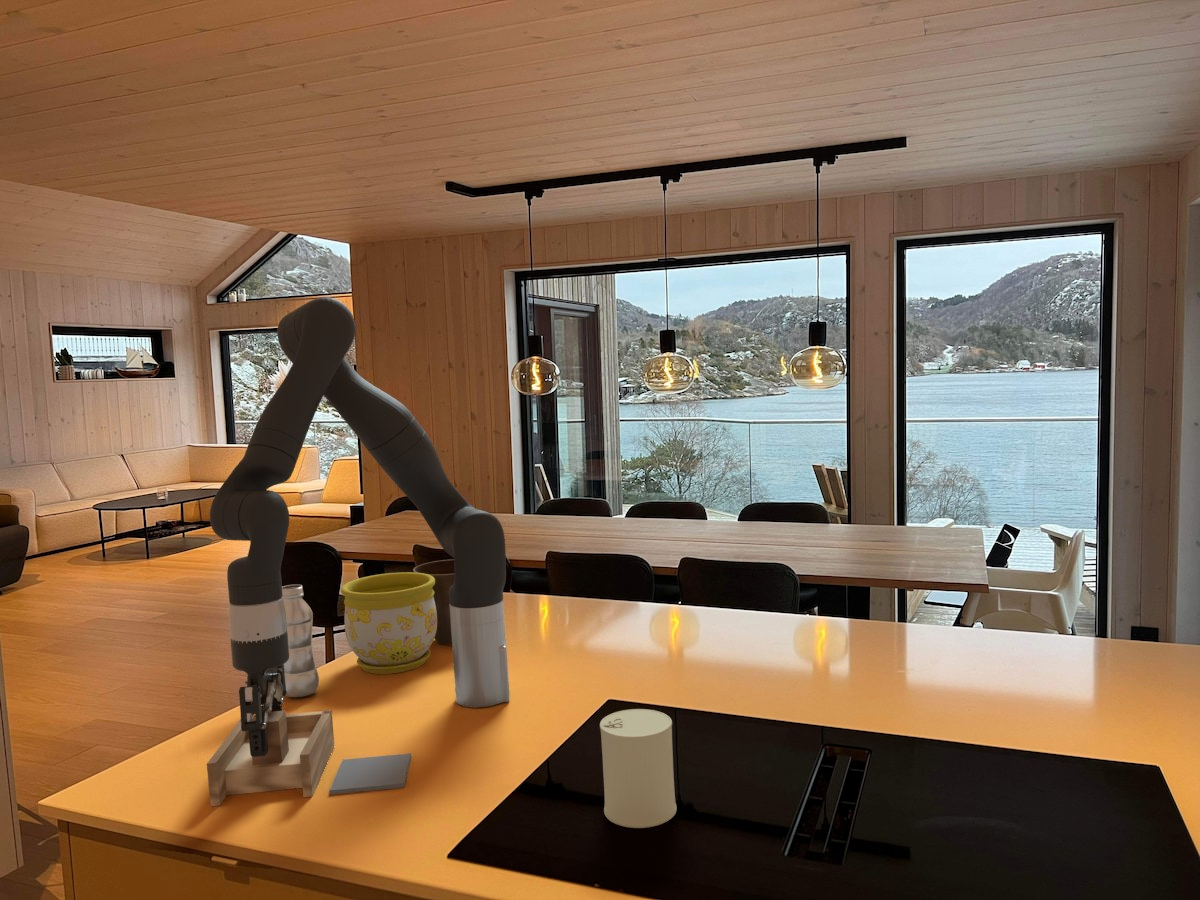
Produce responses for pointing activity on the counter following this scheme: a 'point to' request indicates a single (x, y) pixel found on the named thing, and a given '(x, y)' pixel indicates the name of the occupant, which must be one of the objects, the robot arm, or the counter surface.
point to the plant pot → (441, 595)
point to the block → (274, 739)
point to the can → (638, 768)
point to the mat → (371, 774)
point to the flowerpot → (390, 620)
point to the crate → (297, 770)
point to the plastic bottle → (299, 644)
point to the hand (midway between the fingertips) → (267, 742)
